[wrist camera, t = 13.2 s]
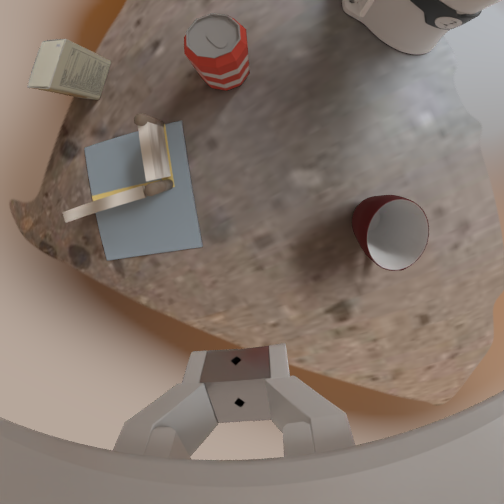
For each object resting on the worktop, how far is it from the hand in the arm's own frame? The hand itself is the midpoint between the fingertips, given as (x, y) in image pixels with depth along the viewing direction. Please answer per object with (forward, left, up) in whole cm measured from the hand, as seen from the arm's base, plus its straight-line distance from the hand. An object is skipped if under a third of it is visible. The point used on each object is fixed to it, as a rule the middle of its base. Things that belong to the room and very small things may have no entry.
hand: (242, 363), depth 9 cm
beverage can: (-19, -1, -31) cm, 36 cm away
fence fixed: (-9, -10, -30) cm, 33 cm away
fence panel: (-5, -17, -30) cm, 35 cm away
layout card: (-4, -15, -31) cm, 34 cm away
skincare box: (-23, -20, -31) cm, 43 cm away
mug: (+4, +16, -31) cm, 35 cm away
